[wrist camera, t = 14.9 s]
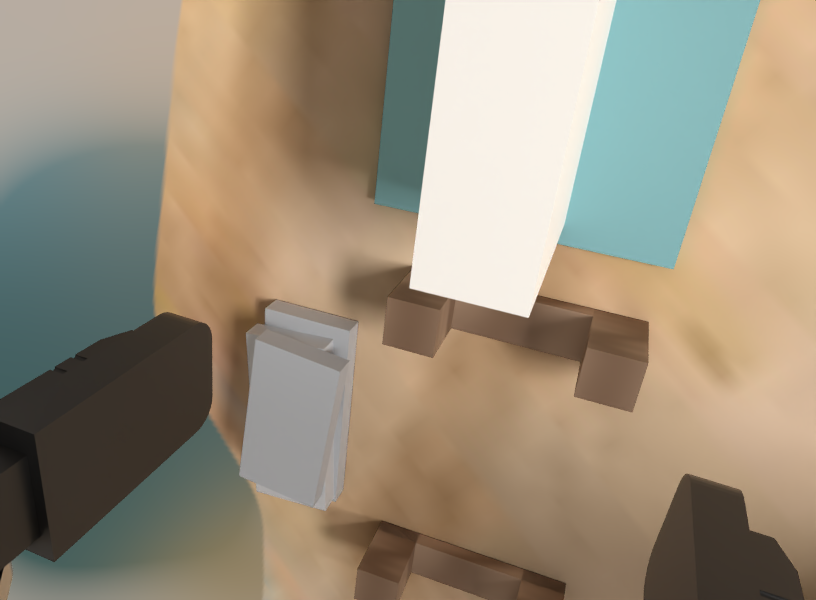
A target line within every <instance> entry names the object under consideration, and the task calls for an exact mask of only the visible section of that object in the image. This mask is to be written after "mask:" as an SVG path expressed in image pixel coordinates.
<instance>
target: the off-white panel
mask: <svg viewBox="0 0 816 600" xmlns="http://www.w3.org/2000/svg"><path fill="white" fill-rule="evenodd" d="M615 5H616V0H445V8H444V16H443V24H442V32H441V40H440V48H439V56H438V64H437V72H436V80H435V88H434V96H433V104H432V112H431V120H430V127H429V135H428V143H427V151H426V159H425V167H424V175H423V183H422V191H421V199H420V207H419V215H418V223H417V231H416V239H415V247H414V255H413V263H412V271H411V278H410V286H409V288H410V289H414V290H418V291H422V292H426V293H430V294H435V295H439V296H443V297H447V298H451V299H455V300H459V301H463V302H467V303H471V304H475V305H479V306H483V307H487V308H491V309H495V310H499V311H503V312H507V313H511V314H515V315H519V316H523V317H527V318H529V316H530V313H531V311H532V308H533V305H534V303H535V300H536V297H537V295H538V292H539V290H540V287H541V284H542V282H543V279H544V277H545V274H546V271H547V269H548V266H549V263H550V261H551V258H552V256H553V253H554V250H555V248H556V245H557V242H558V240H559V237H560V235H561V232H562V229H563V227H564V224H565V220H566V216H567V211H568V207H569V203H570V198H571V194H572V190H573V185H574V181H575V177H576V173H577V168H578V164H579V160H580V155H581V151H582V147H583V142H584V138H585V134H586V129H587V125H588V121H589V117H590V112H591V108H592V104H593V99H594V95H595V91H596V86H597V82H598V78H599V74H600V69H601V65H602V61H603V56H604V52H605V48H606V43H607V39H608V35H609V31H610V26H611V22H612V18H613V13H614V9H615Z"/></svg>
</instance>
